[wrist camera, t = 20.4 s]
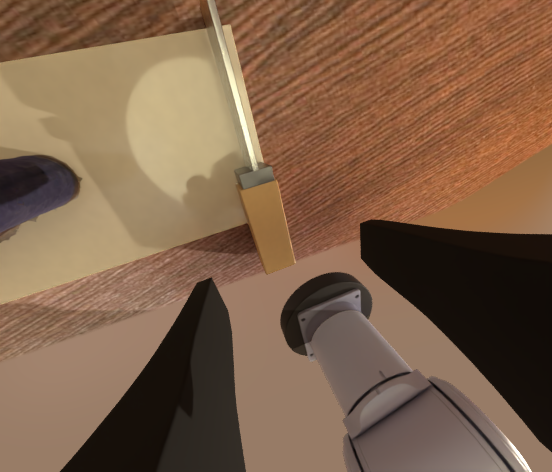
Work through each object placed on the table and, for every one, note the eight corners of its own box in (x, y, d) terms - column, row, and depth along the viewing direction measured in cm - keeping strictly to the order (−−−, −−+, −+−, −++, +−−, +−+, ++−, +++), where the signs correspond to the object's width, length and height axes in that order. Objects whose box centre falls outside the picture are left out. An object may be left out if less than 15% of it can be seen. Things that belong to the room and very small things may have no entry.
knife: (178, 11, 9) (166, -37, 6) (226, 4, 9) (232, -44, 7) (259, 258, 15) (268, 279, 13) (285, 249, 16) (298, 268, 13)
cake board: (275, 212, 14) (276, 213, 14) (-30, 313, 11) (-35, 316, 11) (229, 26, 10) (230, 23, 9) (-311, 117, 7) (-329, 116, 6)
